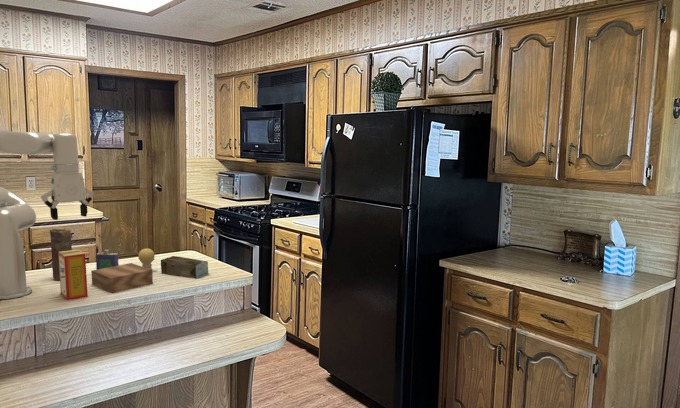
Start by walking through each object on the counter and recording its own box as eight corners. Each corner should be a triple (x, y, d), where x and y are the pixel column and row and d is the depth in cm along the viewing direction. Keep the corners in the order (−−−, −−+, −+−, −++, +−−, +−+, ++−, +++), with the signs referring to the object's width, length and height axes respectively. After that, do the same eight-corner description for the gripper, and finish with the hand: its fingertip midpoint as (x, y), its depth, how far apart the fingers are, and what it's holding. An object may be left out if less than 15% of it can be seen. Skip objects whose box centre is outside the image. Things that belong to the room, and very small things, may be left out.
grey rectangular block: (196, 279, 201) (195, 263, 200) (159, 274, 209) (159, 258, 208) (209, 274, 208) (208, 259, 207) (173, 269, 216) (173, 254, 215)
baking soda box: (87, 296, 178) (85, 252, 176) (67, 300, 173) (64, 255, 171) (80, 290, 185) (78, 248, 183) (60, 294, 180) (58, 250, 178)
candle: (54, 276, 203) (51, 228, 200) (74, 274, 206) (71, 227, 203) (51, 281, 196) (48, 231, 193) (73, 279, 199) (70, 230, 196)
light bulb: (139, 270, 213) (138, 247, 212) (155, 269, 216) (154, 246, 214) (138, 274, 207) (137, 250, 206) (155, 273, 210) (154, 249, 208)
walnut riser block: (112, 294, 182) (111, 278, 181) (92, 285, 192) (91, 270, 191) (152, 284, 194) (152, 269, 193) (132, 277, 204) (131, 263, 203)
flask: (120, 274, 208) (118, 248, 206) (116, 275, 205) (115, 250, 203) (98, 273, 208) (97, 248, 207) (94, 275, 205) (93, 250, 204)
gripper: (43, 170, 164) (47, 221, 167) (96, 168, 178) (99, 216, 180) (34, 169, 169) (38, 219, 171) (86, 167, 182) (89, 214, 185)
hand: (69, 217), depth 176 cm, fingers open, 9 cm apart
